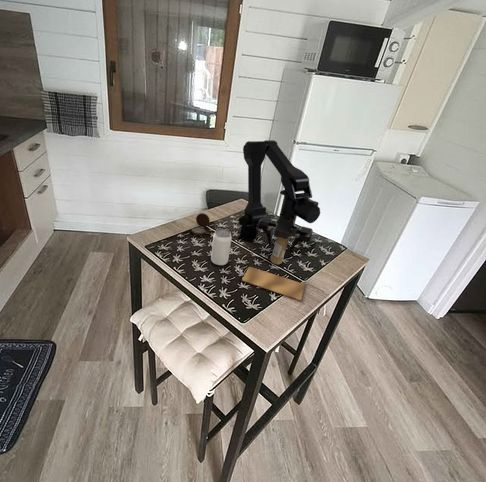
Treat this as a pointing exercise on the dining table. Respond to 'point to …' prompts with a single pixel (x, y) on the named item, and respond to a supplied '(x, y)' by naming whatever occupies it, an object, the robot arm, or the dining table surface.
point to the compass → (201, 224)
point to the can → (221, 247)
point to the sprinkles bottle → (279, 250)
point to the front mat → (274, 283)
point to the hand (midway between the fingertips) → (279, 248)
